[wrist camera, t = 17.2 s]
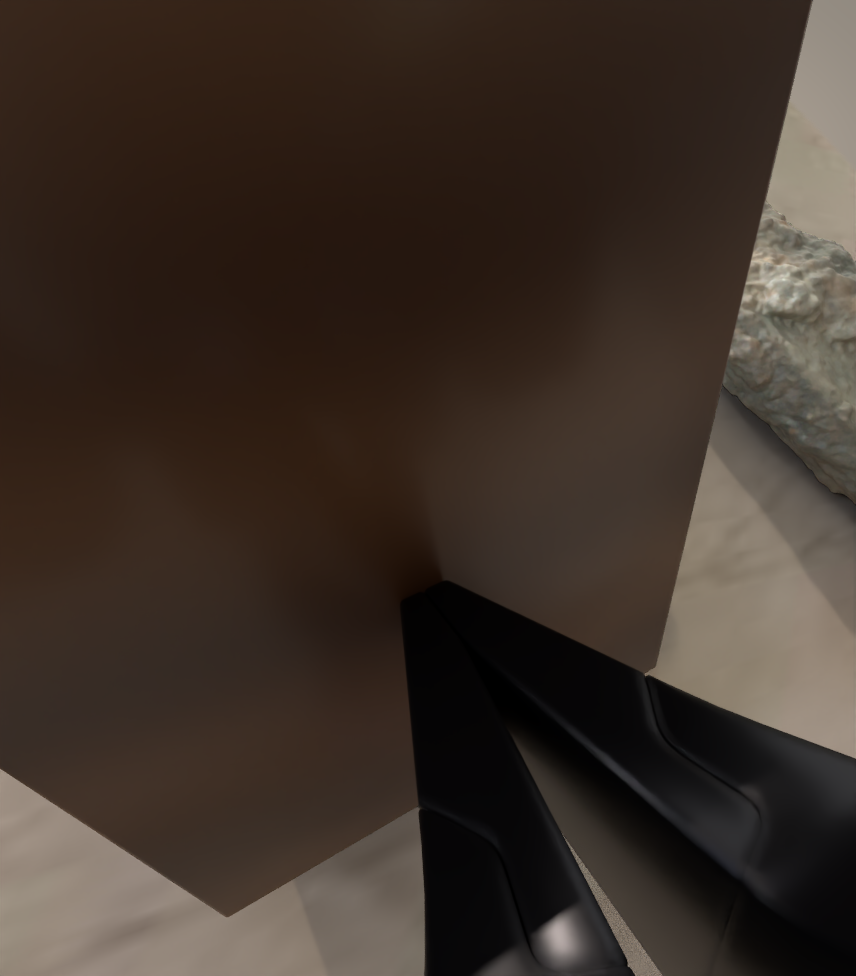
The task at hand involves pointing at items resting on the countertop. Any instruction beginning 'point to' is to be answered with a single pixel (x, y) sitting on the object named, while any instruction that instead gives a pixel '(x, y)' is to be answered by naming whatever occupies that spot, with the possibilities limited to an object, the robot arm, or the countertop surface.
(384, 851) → the countertop surface
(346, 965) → the countertop surface
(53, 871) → the countertop surface
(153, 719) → the chest lid
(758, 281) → the elongated rock
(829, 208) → the countertop surface
